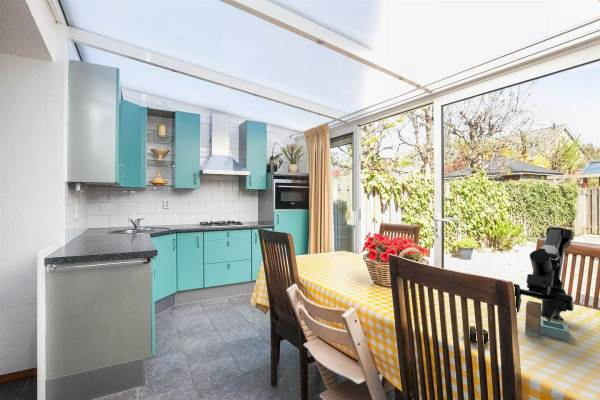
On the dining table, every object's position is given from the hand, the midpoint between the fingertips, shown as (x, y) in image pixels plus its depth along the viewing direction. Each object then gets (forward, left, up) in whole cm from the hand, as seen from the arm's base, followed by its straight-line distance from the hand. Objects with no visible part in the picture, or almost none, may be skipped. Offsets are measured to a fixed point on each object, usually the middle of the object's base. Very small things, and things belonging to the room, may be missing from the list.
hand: (532, 316), depth 102 cm
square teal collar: (-6, +8, -7) cm, 12 cm away
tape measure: (+14, -18, -7) cm, 24 cm away
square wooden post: (-1, +1, -7) cm, 7 cm away
